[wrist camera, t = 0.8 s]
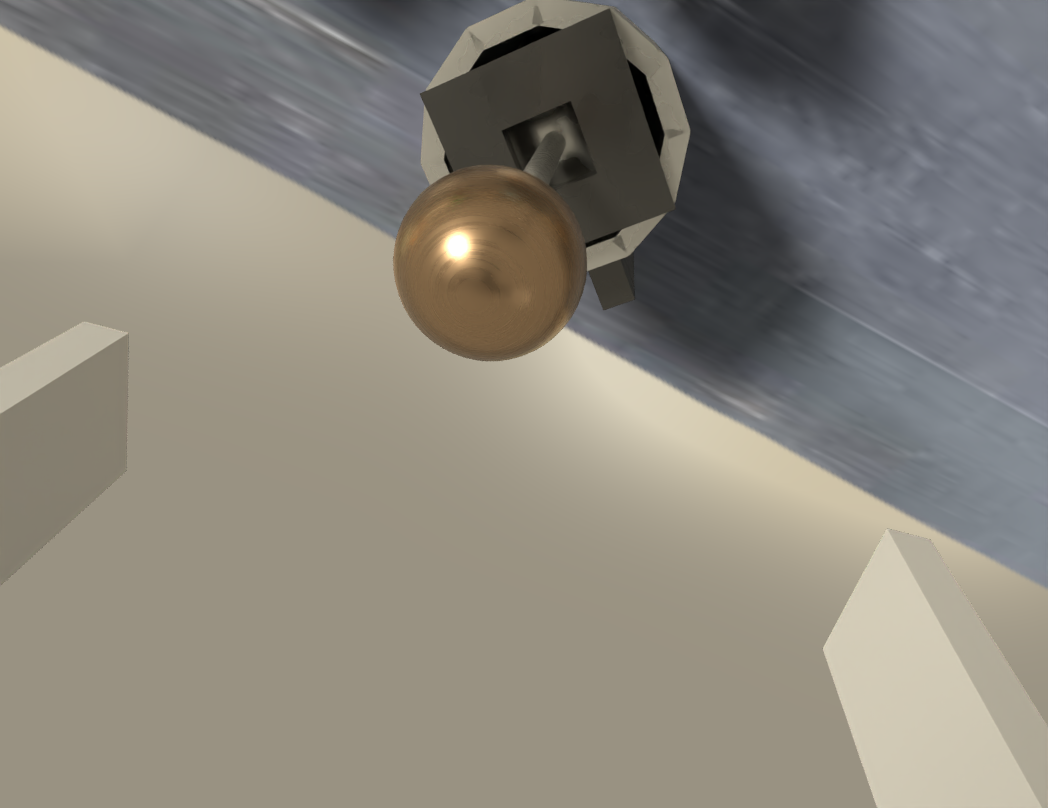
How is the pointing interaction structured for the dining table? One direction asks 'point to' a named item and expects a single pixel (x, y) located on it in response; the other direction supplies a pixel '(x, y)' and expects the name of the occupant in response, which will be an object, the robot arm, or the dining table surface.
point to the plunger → (498, 247)
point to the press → (601, 109)
